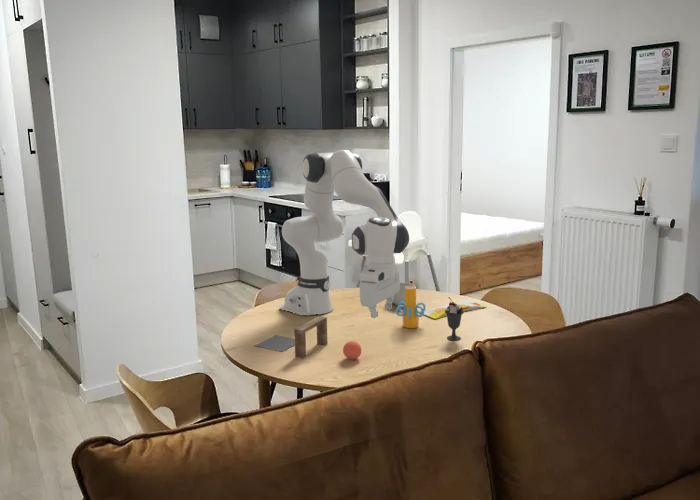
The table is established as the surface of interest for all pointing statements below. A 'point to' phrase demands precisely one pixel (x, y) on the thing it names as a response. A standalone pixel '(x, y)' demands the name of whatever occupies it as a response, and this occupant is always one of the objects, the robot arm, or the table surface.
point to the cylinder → (410, 308)
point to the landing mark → (277, 343)
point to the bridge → (301, 337)
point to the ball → (352, 350)
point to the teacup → (401, 293)
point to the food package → (440, 311)
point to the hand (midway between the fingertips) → (381, 313)
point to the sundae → (453, 319)
